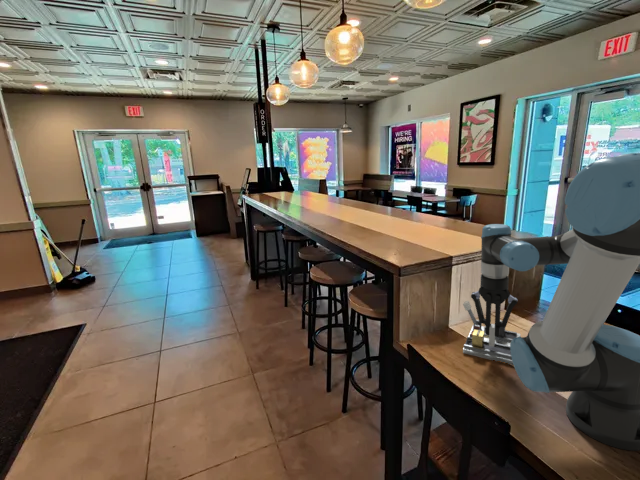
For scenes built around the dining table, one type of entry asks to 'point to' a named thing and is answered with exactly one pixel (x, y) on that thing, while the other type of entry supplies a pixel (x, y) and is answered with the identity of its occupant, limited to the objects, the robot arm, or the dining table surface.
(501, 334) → the slider black
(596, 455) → the dining table surface
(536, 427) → the dining table surface
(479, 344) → the slider brass
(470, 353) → the panel
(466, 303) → the lever
